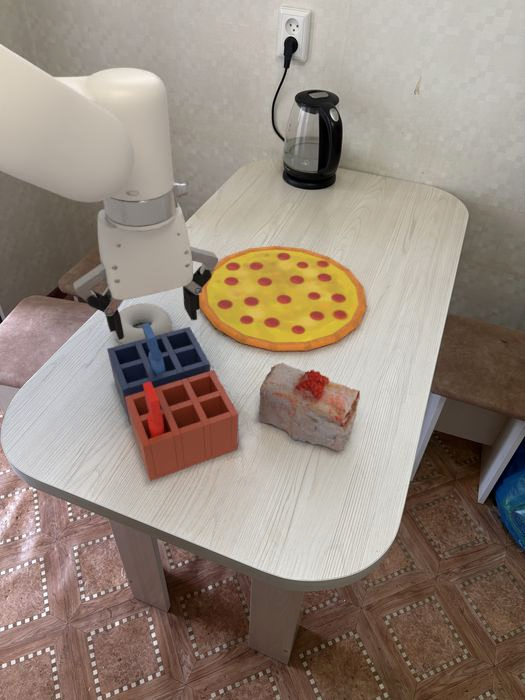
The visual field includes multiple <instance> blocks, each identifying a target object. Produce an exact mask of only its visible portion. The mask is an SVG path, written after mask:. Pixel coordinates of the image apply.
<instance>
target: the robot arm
mask: <svg viewBox="0 0 525 700" xmlns="http://www.w3.org/2000/svg"><path fill="white" fill-rule="evenodd" d="M167 92H168V91H167V89H166V86H165V84H164V82H163V80H162V79H161V78H160V77H159V76H158V75H157V74H155V73H153V72H152V71H149V70H145V69H141V68H135V67H111V68H106V69H102V70H100V71H97V72H94V73H92V74H91V75H83V76H52V75H51V74H50V73H48V72H46V71H45V70H43V69H42V68H40V67H38V66H36V65H35V64H33V63H31V62H30V61H28V60H27V59H26V58H23V57H22V56H20V54H17V53H16V52H14V51H12V50H11V49H9V48H7V47H6V46H5V45H3V44H1V43H0V172H2V173H4V174H6V175H9V176H12V177H13V178H16V179H19V180H20V181H24V182H25V183H28V184H31V185H33V186H35V187H38V188H40V189H43V190H46V191H47V192H50V193H53V194H56V195H58V196H60V197H63V198H66V199H69V200H70V201H75V202H79V203H99V202H102V203H103V209H100V210H99V212H98V213H97V241H98V243H97V244H98V253H99V258H100V264H98V265H97V266H96V267H94V268H93V269H91V270H90V271H88V272H87V273H85V274H83V276H81V277H80V278H78V279H76V281H74V282H73V285H72V286H73V288H74V291H75V294H77V295H78V296H79V297H80V298H81V299H82V300H83V301H85V302H86V303H87V304H88V306H89V307H90V308H94V309H95V310H98V311H100V312H102V313H104V315H105V318H106V323H107V326H108V330H109V332H110V333H113V331H115V332H116V334H117V337H118V339H119V340H121V339H123V338H124V333H123V328H122V323H121V317H120V314H119V312H120V311H119V307H120V306H121V304H123V302H124V301H128V300H133V299H138V298H142V297H147V296H150V295H151V296H152V295H155V294H160V293H164V292H169V291H172V290H176V289H179V288H180V289H181V288H182V294H183V307H184V309H185V310H184V311H185V312H186V313H187V315H188V317H189V318H190V321H193V322H194V321H197V320H198V312H197V311H199V310H201V308H200V302H199V294H201V293H202V287H203V286H204V285H205V284H206V283H207V282H208V281H209V280H210V278H211V277H212V274H211V273H212V271H214V269H215V267H216V265H217V263H218V262H219V258H218V256H217V255H216V254H215V253H214V252H213V251H209V250H205V249H201V248H198V247H193V246H191V244H190V238H189V231H188V229H187V228H188V227H187V224H186V221H185V216H184V214H183V211H182V207H181V206H180V203H179V199H182V197H186V196H188V193H189V192H188V187H187V184H186V183H185V182H184V183H179V182H175V179H174V166H173V154H172V141H171V139H172V138H171V128H170V113H169V101H168V93H167ZM193 262H195V263H200V264H201V265H200V266H199V267H198V268H197V269H196V271H195V272H194V263H193ZM103 281H104V282H105V283H106V284H107V287H106V288H105V290H104V291H103V292H102V294H101V293H99V292H96V291H94V290H93V288H95V287H96V286H98V285H99V284H101V283H102V282H103Z"/></svg>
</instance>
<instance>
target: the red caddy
mask: <svg viewBox="0 0 525 700" xmlns="http://www.w3.org/2000/svg"><path fill="white" fill-rule="evenodd" d="M154 390H155V392H156V395H157V397H158V399H159V405H160V411H161V413H162V418H163V424H164V431H165V434H162V435H159V436H156V437H153V438H151V435H150V430H149V424H148V419H147V415H148V412H149V410H148V407H147V405H146V399H145V394H144V391H142V392H139V393H136V394H132V395H129V396H126V397H125V401H126V405H127V410H128V414H129V419H130V423H131V426H130V427H131V432H132V435H133V438H134V441H135V444H136V446H137V449H138V451H139V454H140V458H141V460H142V464H143V466H144V469H145V471H146V474H147V477H148V480H149V482H152V481H156V480H158V479H160V478H164V477H166V476H169V475H172V474H174V473H177V472H180V471H182V470H185V469H188V468H191V467H193V466H196V465H199V464H201V463H204V462H206V461H209V460H212V459H215V458H218V457H221V456H223V455H226V454H229V453H231V452H234V451H237V450H238V449H239V448H238V447H239V446H238V445H239V413H238V411H237V409H236V407H235V406H234V404H233V402H232V400H231V399H230V397H229V394H228V393H227V391H226V390H225V388H224V386H223V384H222V382H221V381H220V379H219V377H218V374H216V372H215V370H214V369H212V370H210V371H208V372H205V373H202V374H199V375H196V376H192V377H189V378H188V379H187V378H185V379H182V380H179V381H175V382H172V383H169V384H165V385H162V386H159V387H156V388H154Z"/></svg>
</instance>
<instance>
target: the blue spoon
mask: <svg viewBox="0 0 525 700" xmlns="http://www.w3.org/2000/svg"><path fill="white" fill-rule="evenodd" d="M150 325H151V324H150V323H147V322H145V323H141V328H143V331H144V335H145V339H146V342H147V346H148V348H149V350H150V352H149V354H148V356H149V360H150V364H151V367H152V370H153V372H154V374H155V375H158V374H161V373H165V372H166V369H165V365H164V361H163V357H162V353H161V351H160V350H159V348H158V344H157V340H156V336H155V334H154V332H153V330H152V328H151V326H150Z"/></svg>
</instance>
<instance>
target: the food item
mask: <svg viewBox="0 0 525 700" xmlns="http://www.w3.org/2000/svg"><path fill="white" fill-rule="evenodd" d="M259 390H260V391H259V413H258V422H261V423H265V424H270V425H273V426H274V427H275V428H279V429H281V430H283V431H286V432H287V433H288V434H289V437H290V438H292V439H293V440H294V441H295V442H296V441H299V442H302V443H306V442H308V443H310V444H311V445H321V446H324V447H326V448H329V449H330V450H331V451H334V450H335V451H336V452H337V453H339V452H341V451H343V450H344V447H345V446H346V444H347V441H348V440H349V439H350V437H351V434H352V430H353V427H354V424H355V420H356V417H357V411H358V410H357V409H358V405H359V402H360V399H361V392H360V391H361V390H358V389H355V388H350V387H349V386H347V385H344V384H340V383H338V382H334V381H331V380H330V378H329V377H327V375H323V374H321V372H320V371H317V370H315V369H310V370H307V371H303V370H302V369H298V368H296V367H293V366H291V365H288V364H286V363H284V362H281V363H277V364H274V365H273V366H271V367H270V371H269V372H268V373H267V374H266V376H265V378H264V380H263V381H262V384H261V385H260V388H259Z"/></svg>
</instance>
